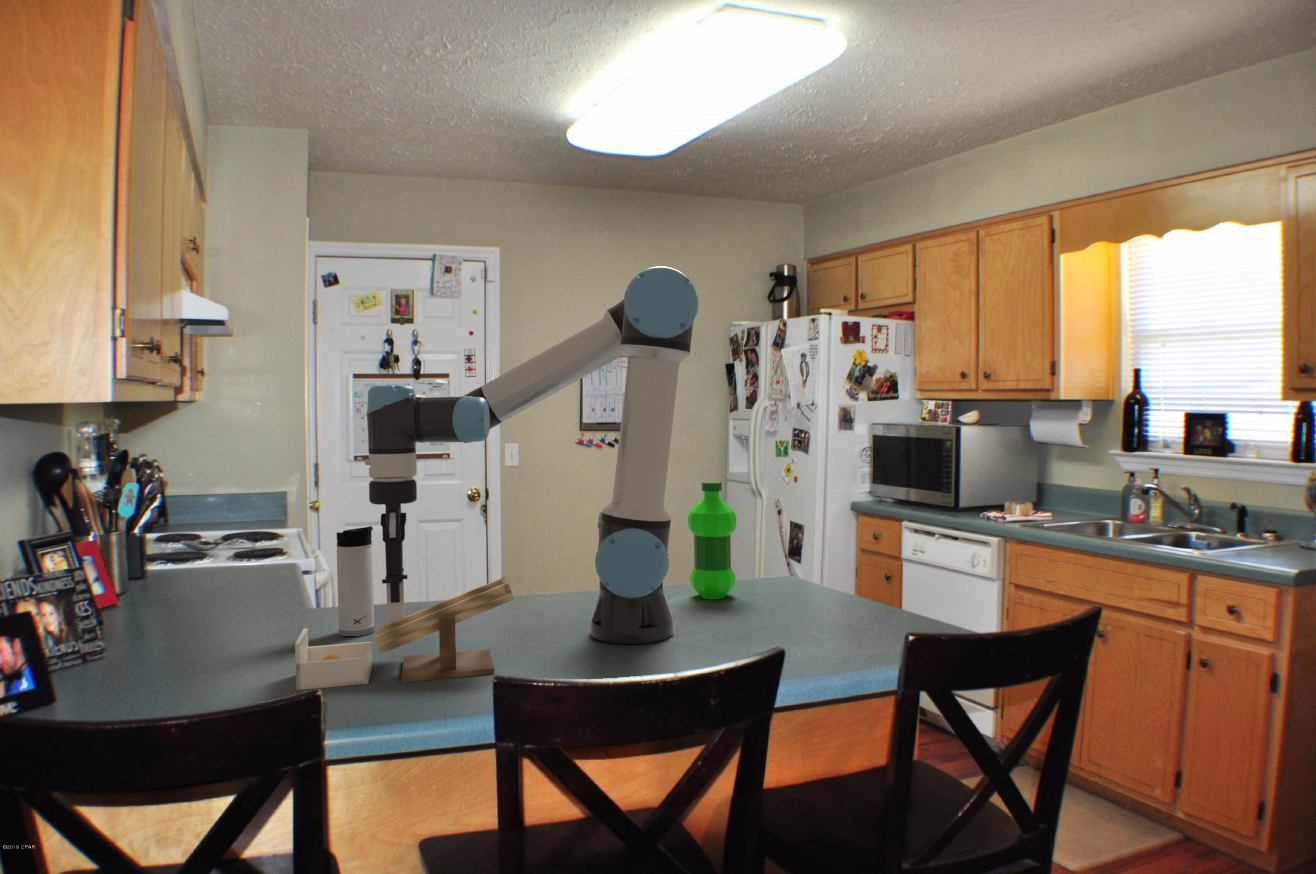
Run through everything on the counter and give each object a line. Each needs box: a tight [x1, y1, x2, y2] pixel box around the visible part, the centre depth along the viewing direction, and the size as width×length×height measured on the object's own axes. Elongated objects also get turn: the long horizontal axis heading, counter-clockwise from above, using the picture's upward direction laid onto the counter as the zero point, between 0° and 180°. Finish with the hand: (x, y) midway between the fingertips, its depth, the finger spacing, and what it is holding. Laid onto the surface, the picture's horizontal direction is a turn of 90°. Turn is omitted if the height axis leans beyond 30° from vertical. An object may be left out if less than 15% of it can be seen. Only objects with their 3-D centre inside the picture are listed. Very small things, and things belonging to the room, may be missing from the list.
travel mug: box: [336, 525, 375, 637], centre depth 159 cm, size 6×7×20 cm
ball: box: [322, 654, 341, 660], centre depth 133 cm, size 3×3×3 cm
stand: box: [401, 615, 495, 683], centre depth 138 cm, size 14×11×9 cm
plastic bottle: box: [687, 481, 737, 600], centre depth 186 cm, size 10×10×25 cm
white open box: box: [294, 627, 373, 691], centre depth 133 cm, size 10×9×7 cm
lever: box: [373, 576, 515, 655], centre depth 141 cm, size 22×12×3 cm, turn 105°
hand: (395, 620), depth 141 cm, fingers closed
